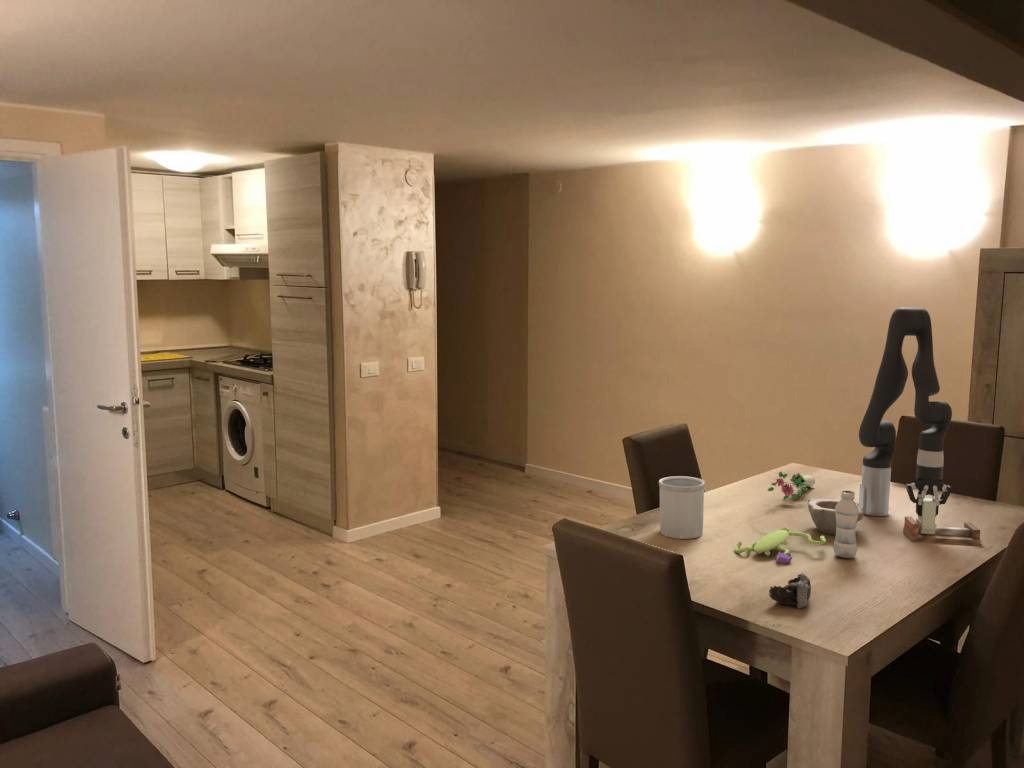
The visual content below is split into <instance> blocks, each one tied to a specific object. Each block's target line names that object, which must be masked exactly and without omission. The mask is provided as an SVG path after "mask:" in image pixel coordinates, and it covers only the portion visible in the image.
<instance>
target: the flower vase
mask: <svg viewBox="0 0 1024 768" xmlns="http://www.w3.org/2000/svg"><path fill="white" fill-rule="evenodd" d="M787 476H788V473H782V471H780V472H779V473H778V477H779V478H777V479H776V481H775V482H771V486H770V487H769V488H768V489H767V490H766V491H768V492H773V491H774V490H775V489H776V488H777V487H780V488H781V492H782V493H783V495H784V496H783V499H782V500H783V501H785V500H787V499H788V498H790V497H792V498H793V500H795V501H797V496H796V495H799V497H801V496H802V494H803V491H805V492H810V490H809V488H811V487H813V486H815V484H816V480H815V477H814V476H813V475H810V474H807V475H802V474H800V472H797V473H796V474H795V473H793V475H792V477H791V478H790V479H789V481H790V482H789V483H788V482H787V481H785V480H784V479H785V478H787ZM773 486H776V487H773ZM794 487H795V488H796V489H799V488H800V489H799V490H797V493H798V494H795V489H794ZM801 488H802V489H801Z"/></svg>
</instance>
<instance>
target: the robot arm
mask: <svg viewBox="0 0 1024 768" xmlns="http://www.w3.org/2000/svg"><path fill="white" fill-rule="evenodd" d="M906 336H907V337H909V336H910V337H911V336H913V337H915V338H916V342H917V352H916V355H915V357H914V359H913V362H912V365H911V366H912V367H911V377H912V381H913V386H914V391H915V398H914V399H915V400H914V409H913V411H914V412H913V413H914V416H915V418H916V420H917V421H918V423H920V424H924V425H929V424H930V425H931V424H932V426H931V427H930V428H928V429H926V430H922V431H921V432H920V433H919V436H918V437H919V438H918V450H917V456H916V468H915V469H916V471H915V473H916V474H915V480H914V481H913V482H912V483H906V484H904V485H905V489H906V492H907V495H908V498H909V500H910V501H911V502H912V503H913V504H915V513H916V514H917V517H918V516H922V502H923V499H924V498H926V496H931V499H932V500H934V501H935V502H936V515H935V518H936V517H937V516H938V515H939V506H940V505H941V506H942V505H945V504H946V503H947V501H948V499H949V497H950V495H951V493H952V491H953V487H951V485H947V484H945V483H944V481H943V475H944V473H943V472H944V464H945V463H944V459H945V458H944V456H945V455H944V443H945V437H946V434H947V432H948V428H949V427H950V423H951V420H952V418H953V409H952V407H951V405H950V404H949V403H948V402H946V401H943V400H942V401H941V400H938V401H930V397H932V396H935V395H937V394H939V393H940V391H941V388H940V383H939V379H938V374H937V371H936V370H937V369H936V366H935V365H936V364H935V360H934V359H935V357H934V346H933V344H934V343H933V341H934V339H933V327H932V320H931V315H930V314H929V311H928V310H927V309H925V308H922V307H897V308H896V309H895V310H893V312H892V314H891V316H890V320H889V324H888V328H887V334H886V340H885V341H886V342H885V345H884V350H883V355H882V358H881V362H880V365H879V368H878V371H877V375H876V378H875V383H874V385H873V391H872V393H871V396H870V400H869V403H868V406H867V408H866V410H865V413H864V415H863V418H862V421H861V423H860V426H859V430H858V440H859V442H860V444H861V445H862V446H863V447H866V448H874V449H873V450H872V451H871V452H869V453H868V454H866V455H864V456H863V458H862V469H861V471H862V472H861V484H859V494H858V495H859V497H858V498H859V499H858V503H859V505H860V506H861V507H862V508H863V513H864V515H866V516H872V517H887V516H888V515H889V510H890V493H891V492H890V491H891V474H892V462H893V460H894V457H895V449H896V442H897V432H896V427H895V425H894V423H893V422H891V421H889V420H884V419H883V418H884V415H885V414H886V412H887V411H888V410H889V408H891V406H893V404H895V403H896V401H898V399H899V398H900V397H901V395H902V394H903V392H904V391H905V386H906V384H907V380H908V376H909V369H908V366H907V363H906V361H905V358H904V355H903V343H904V340H905V337H906ZM915 488H916V489H917V494H916V496H915V493H914V490H915ZM941 490H942V493H941V496H940V497H939V492H940V491H941Z"/></svg>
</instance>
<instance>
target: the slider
mask: <svg viewBox="0 0 1024 768" xmlns="http://www.w3.org/2000/svg"><path fill="white" fill-rule="evenodd" d="M935 515H936V502H935V501H934V500H933V499H932V497H931V498H930V497H929V498H927V497H925V498H924V499H923V502H922V516H918V515H917V517H916V518H915V519H916V520H915V521H916V522H917V523H918V524H919V526H920V527H921V528H920V533H922V534H935V530H936V527H938V526H937V524H936V517H935ZM936 516H937V515H936Z"/></svg>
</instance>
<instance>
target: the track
mask: <svg viewBox="0 0 1024 768" xmlns="http://www.w3.org/2000/svg"><path fill="white" fill-rule="evenodd" d="M903 524H904V526H903V527H902V532H903V534H904V535H905V536H906V537H907V538H908V539H909V540H910V541H911V542H915V543H933V544H935V543H936V544H954V545H956V544H957V545H959V544H960V545H972V546H973V545H975V546H981V544H982V539H981V529H980V528H979V527H977V525H975V524H973V523H972V522H968V521H966V522H965V521H964V523H963V527H953V526H951V527H950V526H936V530H935V534H922V533H920V528H921V527H920V526H919V524H918V523H917V522H916V520H915V519H914V518H913V516H904V523H903Z"/></svg>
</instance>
